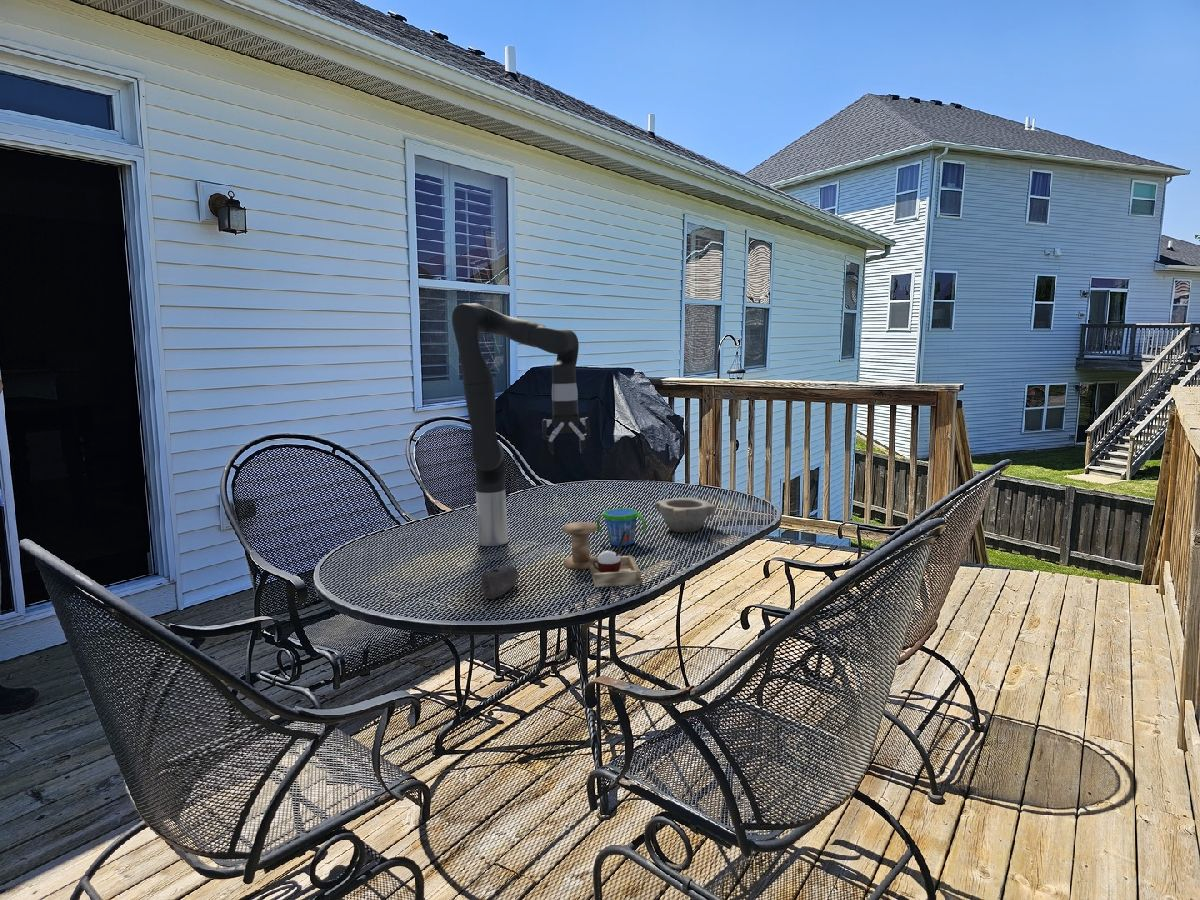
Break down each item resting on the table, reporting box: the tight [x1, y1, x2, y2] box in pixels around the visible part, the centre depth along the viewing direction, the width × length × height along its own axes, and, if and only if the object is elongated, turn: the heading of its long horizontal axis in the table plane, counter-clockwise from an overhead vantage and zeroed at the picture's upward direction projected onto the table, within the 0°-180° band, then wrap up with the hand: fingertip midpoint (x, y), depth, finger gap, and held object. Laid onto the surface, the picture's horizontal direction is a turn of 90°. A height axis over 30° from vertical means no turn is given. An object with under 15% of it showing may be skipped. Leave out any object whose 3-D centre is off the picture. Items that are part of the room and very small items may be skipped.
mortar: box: [654, 496, 718, 533], centre depth 242 cm, size 17×17×9 cm
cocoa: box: [593, 530, 626, 573], centre depth 196 cm, size 10×6×12 cm, turn 50°
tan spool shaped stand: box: [561, 521, 598, 570], centre depth 209 cm, size 10×10×11 cm
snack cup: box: [596, 507, 647, 547], centre depth 228 cm, size 16×10×10 cm
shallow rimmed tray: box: [589, 555, 642, 588], centre depth 197 cm, size 12×15×3 cm
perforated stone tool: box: [480, 565, 519, 600], centre depth 187 cm, size 15×5×7 cm, turn 153°
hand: (567, 453), depth 217 cm, fingers open, 8 cm apart
